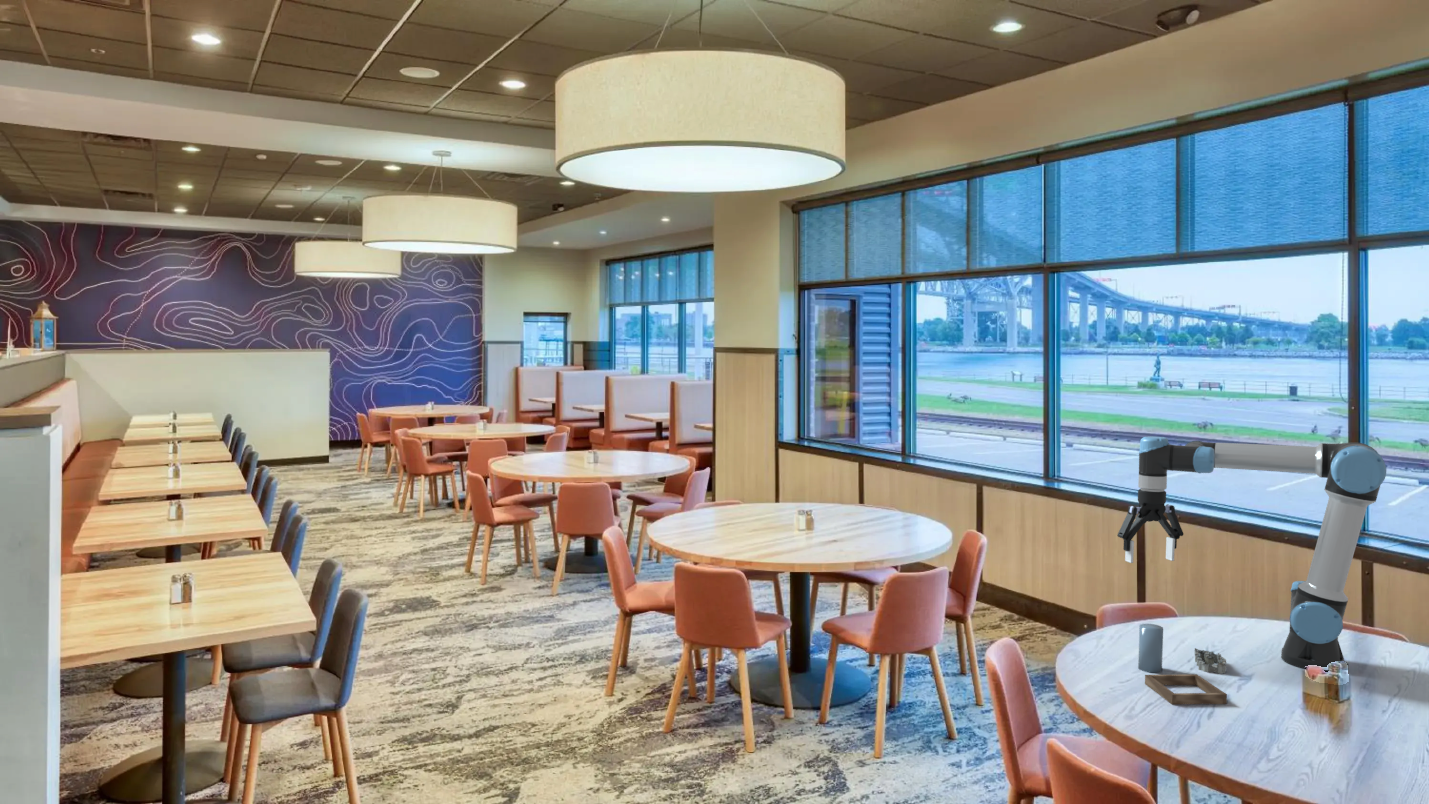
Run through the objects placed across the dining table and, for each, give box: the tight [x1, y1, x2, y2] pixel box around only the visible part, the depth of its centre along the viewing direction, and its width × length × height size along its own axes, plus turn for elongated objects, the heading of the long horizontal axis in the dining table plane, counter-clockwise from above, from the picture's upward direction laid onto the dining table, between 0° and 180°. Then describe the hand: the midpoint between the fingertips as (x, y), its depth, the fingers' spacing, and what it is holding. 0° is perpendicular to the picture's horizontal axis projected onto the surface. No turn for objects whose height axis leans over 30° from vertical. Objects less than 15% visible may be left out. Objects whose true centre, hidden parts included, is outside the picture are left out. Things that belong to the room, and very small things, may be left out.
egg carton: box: [1194, 647, 1227, 675], centre depth 263 cm, size 11×8×4 cm
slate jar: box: [1137, 623, 1164, 674], centre depth 260 cm, size 6×6×12 cm
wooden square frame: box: [1144, 673, 1228, 705], centre depth 243 cm, size 14×14×2 cm
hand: (1149, 560), depth 275 cm, fingers open, 13 cm apart
